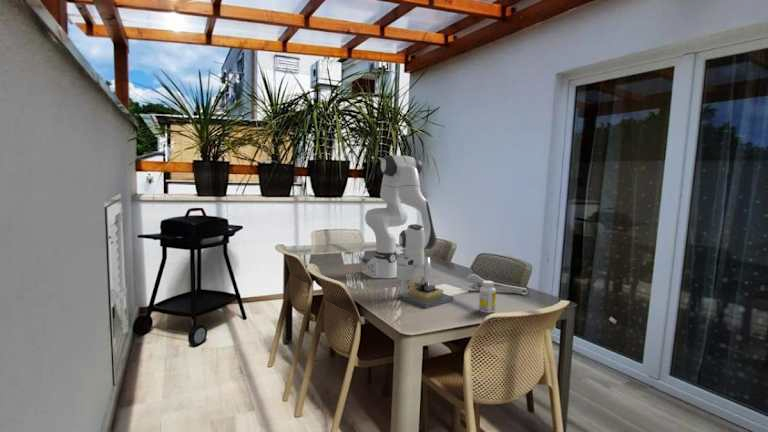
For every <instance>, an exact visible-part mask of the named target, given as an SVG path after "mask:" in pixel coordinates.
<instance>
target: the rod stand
mask: <svg viewBox="0 0 768 432" xmlns="http://www.w3.org/2000/svg"><path fill="white" fill-rule="evenodd" d="M430 263H431V258H430V257H429V256H424V283H422V284H418V289H417V290H419V291H422V292H425V293H427V292H432V291H435V286H436V285H434V284H430V276H429V264H430ZM454 297H455V296H449V295H446V294H443V296H442V297H438V298H434V299H431V300H427V301H426V300H423V299H420V298H417V297H414V296H411V295H409V291H408V292H404V293H399V294H398V299H399V300H401V301H404V302H407V303H410V304H412V305H414V306H415V305H416V306H418V307H421V308H423V309H430V308H433V307H436V306H437V307H438V306H440V305H444V304H447V303H451V302H454Z"/></svg>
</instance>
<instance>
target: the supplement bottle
mask: <svg viewBox="0 0 768 432" xmlns="http://www.w3.org/2000/svg"><path fill="white" fill-rule="evenodd" d="M494 283H495V282H494V281H492V280H486V281H483V282H482V284H483V287H481V288H480V291H479V300H478V301H479V304H478V306H479V307H478V309H479V311H480V312H482V313H487V314H491V313H492V314H493V313H494V312H495V311H496V294H497V291H496V290H497V289H495V288H494V287H493V285H494Z"/></svg>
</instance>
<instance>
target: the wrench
mask: <svg viewBox="0 0 768 432" xmlns="http://www.w3.org/2000/svg"><path fill="white" fill-rule="evenodd" d="M471 279H472V280H474V283H470V284H468V285H467V286H468V287H469V288H471V289H473V290H476V291H477V292H478V291H479V292H480V288H481V287H483V284H482V282H483V281H487V280H485V279H484V278H481V277H480V276H479V275H477V274H475V273H472V274H469V275H468V276H467V277H466V280H471ZM493 287H494V288H495V290H499V291H503V292H509V293H514V294H517V295H518V294H519V295H528V292H529V291H528V289H527V288H525V287H520V286H514V285H508V284H503V283H498V282H494V285H493ZM523 290H525V291H526V292H523Z"/></svg>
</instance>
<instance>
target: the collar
mask: <svg viewBox="0 0 768 432" xmlns="http://www.w3.org/2000/svg"><path fill="white" fill-rule="evenodd" d="M407 284H408V285H409V289H407V291H408V292H409V295H411V296H414V297H417V298H420V299H423V300H426V301H427V300H431V299H434V298H438V297H442V296H443V290H441V289H438V288H435V291H432V292H427V293H425V292H422V291H419V290H417V289H418V284H420V281H418V280H416V279H411V280H408V282H407Z"/></svg>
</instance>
